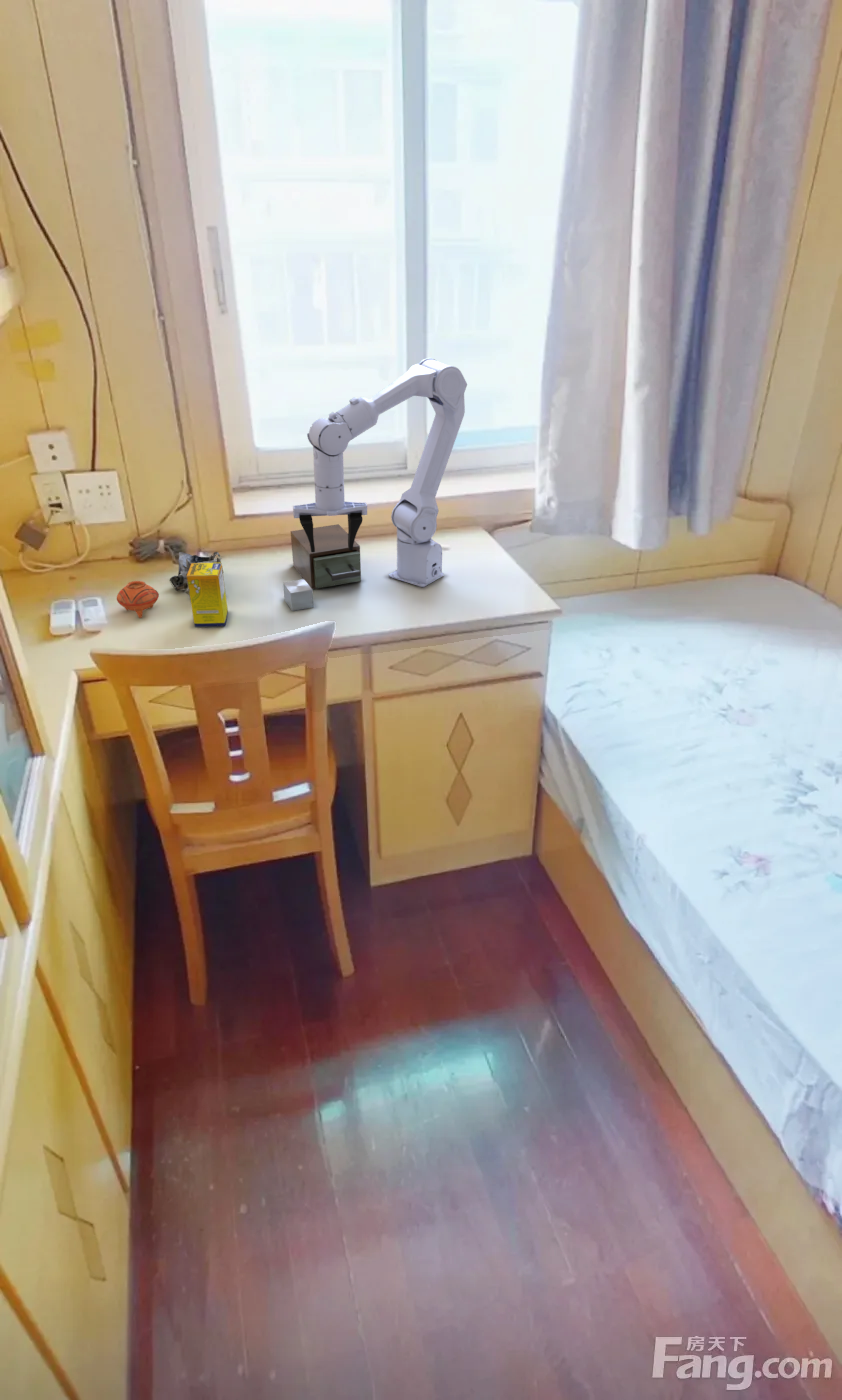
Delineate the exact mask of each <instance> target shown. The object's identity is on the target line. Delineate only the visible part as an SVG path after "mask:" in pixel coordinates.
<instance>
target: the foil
mask: <svg viewBox="0 0 842 1400" xmlns="http://www.w3.org/2000/svg"><path fill="white" fill-rule="evenodd" d="M216 556H217V557H216ZM192 563H222V557H221V555H220V553H219V552H218V551H214V552H213V553H212V554H211V555H210V556H200V555H198V554H197V555H196V554H193V555H192V554H190V553H186V552H182V551H179V552H178V573H177V575H173V576H171V577H170V578H169V583H170V585H171V586H172V587H173V588H174V590H175V591H177V592H178V591H183V593H184V594H186V595H189V596H190V594H189V587H188V581H187V573H188V571H189V568H190V565H191V564H192ZM222 570H223V576H224V569H223V567H222Z"/></svg>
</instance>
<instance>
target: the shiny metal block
mask: <svg viewBox="0 0 842 1400" xmlns="http://www.w3.org/2000/svg"><path fill="white" fill-rule="evenodd" d="M282 587H283V599H284V601H285V603H286V605H287V606H288V607H289V609H290V610H291V612H295V611H300V610H306V609H311V608H314V596H313V595H314V594H313V589H312V588H311V587H310V586H309V585H308V583H307V582H306V581H305V579H303V578H301V579H295V580H290V581H284V582H282Z"/></svg>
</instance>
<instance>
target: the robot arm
mask: <svg viewBox="0 0 842 1400" xmlns="http://www.w3.org/2000/svg"><path fill="white" fill-rule="evenodd" d="M467 386H468V383H467V380H466V379H465V377H464V375H463V373H462V371H461V370H460V368H458V367H456V366H454V365H449V364H446V363H443V362H441V361H438V360H436V359H435V358H432V357H427V358H424V359H422V360H421V361H419V362H418V363H416V364H413V365H411V366H410V367H409V369H408V370H407V371H406V372H405V373H403V374H402V375H400V376H399V377H398V378H396V379H395V380H394V381H392V382H391V383H389V384H388V385H387V386H385V387H384V388H382V389H381V390H380V391H378V392H377V393H375V394H374V395H372V396H371V397H370V398H366V397H364V396H363V397H362V396H360V397H358V398H357V397H352V398H350V399H349V403H348V404H347V405H345V406H344V407H341V408H340V409H339V410H337V411H335V412H334V411H331V412H330V413H329V414H328V418H327V417H321V418H320V417H319V418H318V419H316V420H315V421H313V423H312V424H311V426H310V428H309V431H308V433H306V436H307V441H308V442H309V444H310V445H311V446H312V451H313V478H314V479H313V480H314V500H315V501H314V502H309V503H304V504H297V505H292V514H293V519H299V523H300V525H301V527H302V530H303V529H304V531H305V533H306V535H307V537H308V540H309V543H310V548H311V552H315V546H314V538H313V528H314V522H313V521H314V520H313V517H325V516H326V517H327V516H328V517H335V516H336V517H337V516H347V528H348V531H347V533H348V548H349V550H353V544H354V540H355V541H356V537H357V534H358V531H359V529H360V527H361V526H362V523H363V516H367V515H368V504H367V502H356V501H345V470H344V468H345V466H344V464H345V463H344V452H345V451H346V449H347V447H349V446H348V445H349V443H350V442H351V441H353V440H354V439H355V438H357V437H359V436H360V435H362V434H363V433H365V432H366V431H368V430H369V429H371V428H373V427H374V426H376V425H377V423H378V419H379V416H380V415H381V414H383V413H385V412H387V411H389V410H391V409H392V408H395V407H396V406H398V405H399V404H401V403H403V402H406V401H407V400H409V399H410V398H413V397H421V398H422V397H423V398H427V399H428V401H429V403H430V405H431V406H432V408H433V411H434V413H435V415H434V418H433V421H432V423H431V427H430V429H429V433H428V435H427V438H426V442H425V444H424V447H423V450H422V454H421V456H420V458H419V462H418V465H417V468H416V471H415V474H414V477H413V480H412V483H411V485H410V488H409V489H407V490H406V491H404V492H403V493H401V495H400V498H399V501H398V502H397V503H396V504H395V506H393V508H392V511H391V516H390V518H391V522H392V524H393V526H394V527H396V570H393V571H392V572H391V573H389V574H388V577H389V578H392V579H395V580H398V581H401V582H404V583H408V584H411V585H414V586H417V587H420V588H425V587H427V586H429V585H430V584H432V583H434V582H435V581H436V580H439V579H441V578H442V577H444V575H445V574H444V573H443V548H442V545H441V544H440V543H438V542H436V541H435V540H434V539H433V537H434V535H435V534H436V532H437V529H438V528H437V526H438V524H437V522H438V521H437V517H438V514H439V506H438V503H437V500H436V496H437V493H438V490H439V488H440V485H441V482H442V479H443V476H444V473H445V471H446V467H447V465H448V462H449V460H450V456H451V453H452V451H453V448H454V445H455V442H456V439H457V436H458V434H459V431H460V428H461V425H462V422H463V419H464V417H465V413H466V408H465V406H466V405H465V392H466V389H467Z"/></svg>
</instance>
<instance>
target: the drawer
mask: <svg viewBox="0 0 842 1400" xmlns="http://www.w3.org/2000/svg"><path fill="white" fill-rule="evenodd" d="M313 563H314V578H315V587H316V588H317V589H323V588H328V587H327V586H329V587H334V586H333V585H335V586H340V585H339V584H341V585H346V584H352V583H357V582H356V581H358V582H361V581H362V570H361V566H362V565H361V552H360V553H359V552H358V551H356V552H353V550H352V551H346V552H340V553H333V554H327V555H321V556H314V557H313ZM351 582H352V583H351ZM345 583H346V584H345ZM322 587H323V588H322Z"/></svg>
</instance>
